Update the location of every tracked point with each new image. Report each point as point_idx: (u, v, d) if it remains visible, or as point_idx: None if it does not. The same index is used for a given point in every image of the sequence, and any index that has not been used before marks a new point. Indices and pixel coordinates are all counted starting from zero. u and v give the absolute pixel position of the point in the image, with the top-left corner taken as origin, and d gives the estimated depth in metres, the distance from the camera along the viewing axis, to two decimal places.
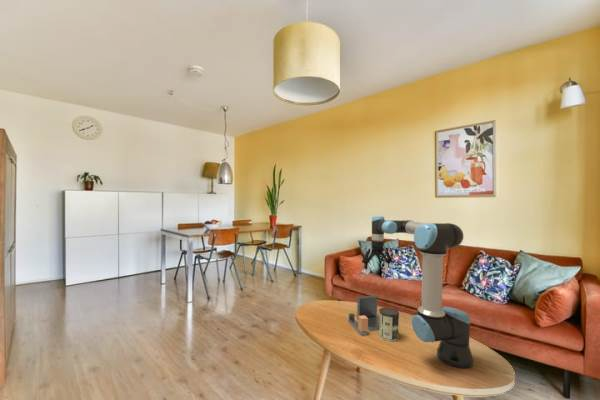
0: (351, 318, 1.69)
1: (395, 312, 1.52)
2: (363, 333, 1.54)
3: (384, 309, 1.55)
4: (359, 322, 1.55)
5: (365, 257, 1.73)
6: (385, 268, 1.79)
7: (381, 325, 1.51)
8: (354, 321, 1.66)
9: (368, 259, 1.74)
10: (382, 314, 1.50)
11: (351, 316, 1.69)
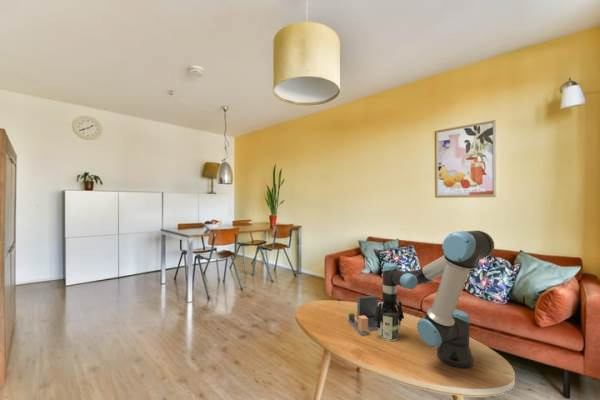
0: (351, 318, 1.69)
1: (395, 312, 1.52)
2: (363, 333, 1.54)
3: None
4: (359, 322, 1.55)
5: (377, 314, 1.50)
6: None
7: None
8: (354, 321, 1.66)
9: (380, 316, 1.51)
10: (382, 314, 1.50)
11: (351, 316, 1.69)
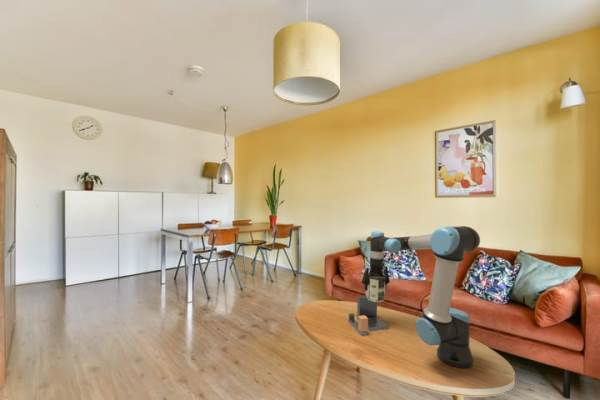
0: (351, 318, 1.69)
1: (381, 276, 1.64)
2: (363, 333, 1.54)
3: None
4: (359, 322, 1.55)
5: (364, 277, 1.62)
6: None
7: None
8: (354, 321, 1.66)
9: (368, 279, 1.63)
10: (369, 277, 1.63)
11: (351, 316, 1.69)
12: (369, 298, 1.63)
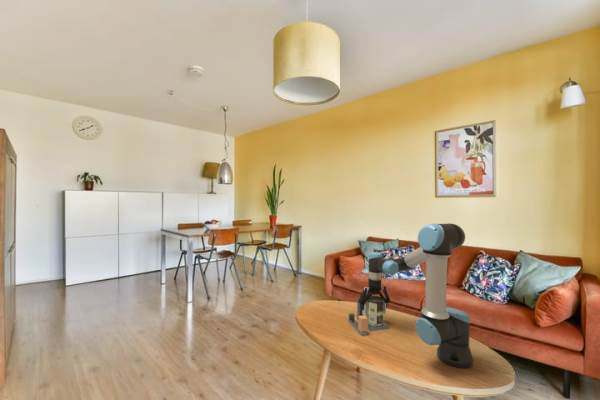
0: (351, 318, 1.69)
1: (380, 299, 1.65)
2: (363, 333, 1.54)
3: (370, 297, 1.69)
4: (359, 322, 1.55)
5: (362, 297, 1.63)
6: (383, 308, 1.68)
7: (367, 311, 1.64)
8: (354, 321, 1.66)
9: (365, 299, 1.64)
10: (368, 301, 1.64)
11: (351, 316, 1.69)
12: (368, 321, 1.64)
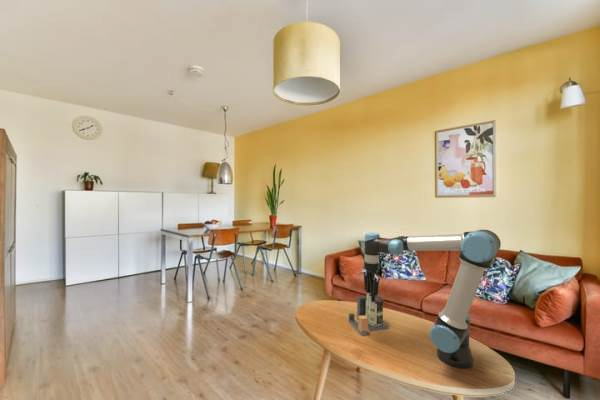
0: (351, 318, 1.69)
1: (380, 299, 1.65)
2: (363, 333, 1.54)
3: None
4: (359, 322, 1.55)
5: None
6: None
7: (367, 311, 1.64)
8: (354, 321, 1.66)
9: None
10: None
11: (351, 316, 1.69)
12: (368, 321, 1.64)
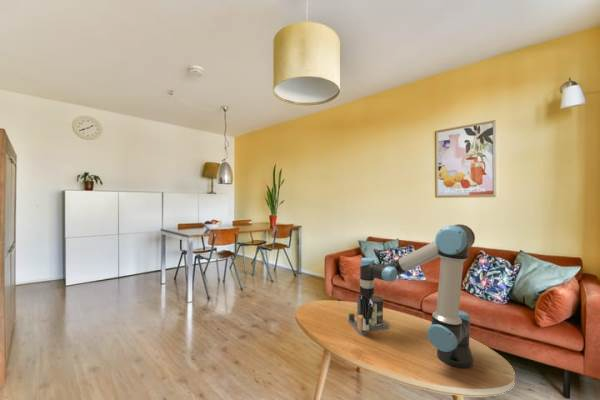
0: (351, 318, 1.69)
1: (380, 299, 1.65)
2: (363, 333, 1.54)
3: None
4: (358, 321, 1.56)
5: None
6: None
7: None
8: (354, 321, 1.66)
9: (363, 310, 1.54)
10: None
11: (351, 316, 1.69)
12: None
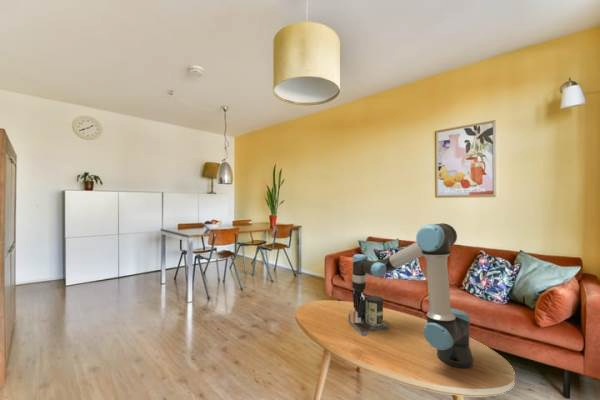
0: None
1: (380, 299, 1.65)
2: (363, 333, 1.54)
3: (370, 297, 1.69)
4: (351, 315, 1.65)
5: None
6: None
7: (367, 311, 1.64)
8: None
9: None
10: (368, 301, 1.64)
11: None
12: (368, 321, 1.64)
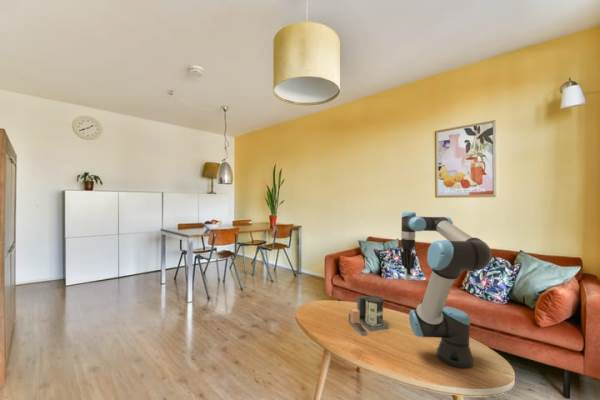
0: None
1: (380, 299, 1.65)
2: (363, 333, 1.54)
3: (370, 297, 1.69)
4: (351, 315, 1.65)
5: None
6: None
7: (367, 311, 1.64)
8: None
9: (404, 262, 1.62)
10: (368, 301, 1.64)
11: None
12: (368, 321, 1.64)
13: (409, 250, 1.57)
